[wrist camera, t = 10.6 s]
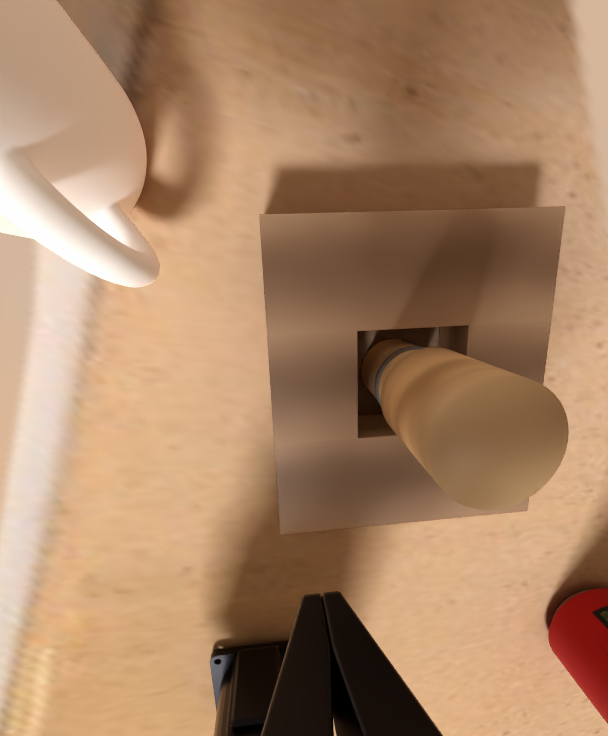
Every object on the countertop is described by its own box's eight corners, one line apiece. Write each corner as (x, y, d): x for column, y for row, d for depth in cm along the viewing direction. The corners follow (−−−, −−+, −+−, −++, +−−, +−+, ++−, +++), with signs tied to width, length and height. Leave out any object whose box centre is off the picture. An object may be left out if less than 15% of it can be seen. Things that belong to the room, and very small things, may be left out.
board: (494, 482, 23) (527, 511, 20) (279, 501, 22) (280, 534, 19) (520, 218, 19) (565, 206, 16) (261, 225, 18) (259, 214, 15)
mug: (240, 232, 18) (201, 168, 8) (122, 335, 19) (-49, 395, 9) (53, 2, 15) (-364, -536, 5) (-77, 133, 16) (-669, -122, 6)
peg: (426, 402, 21) (558, 503, 11) (354, 407, 21) (427, 516, 11) (429, 329, 20) (578, 372, 10) (354, 333, 20) (434, 381, 10)
